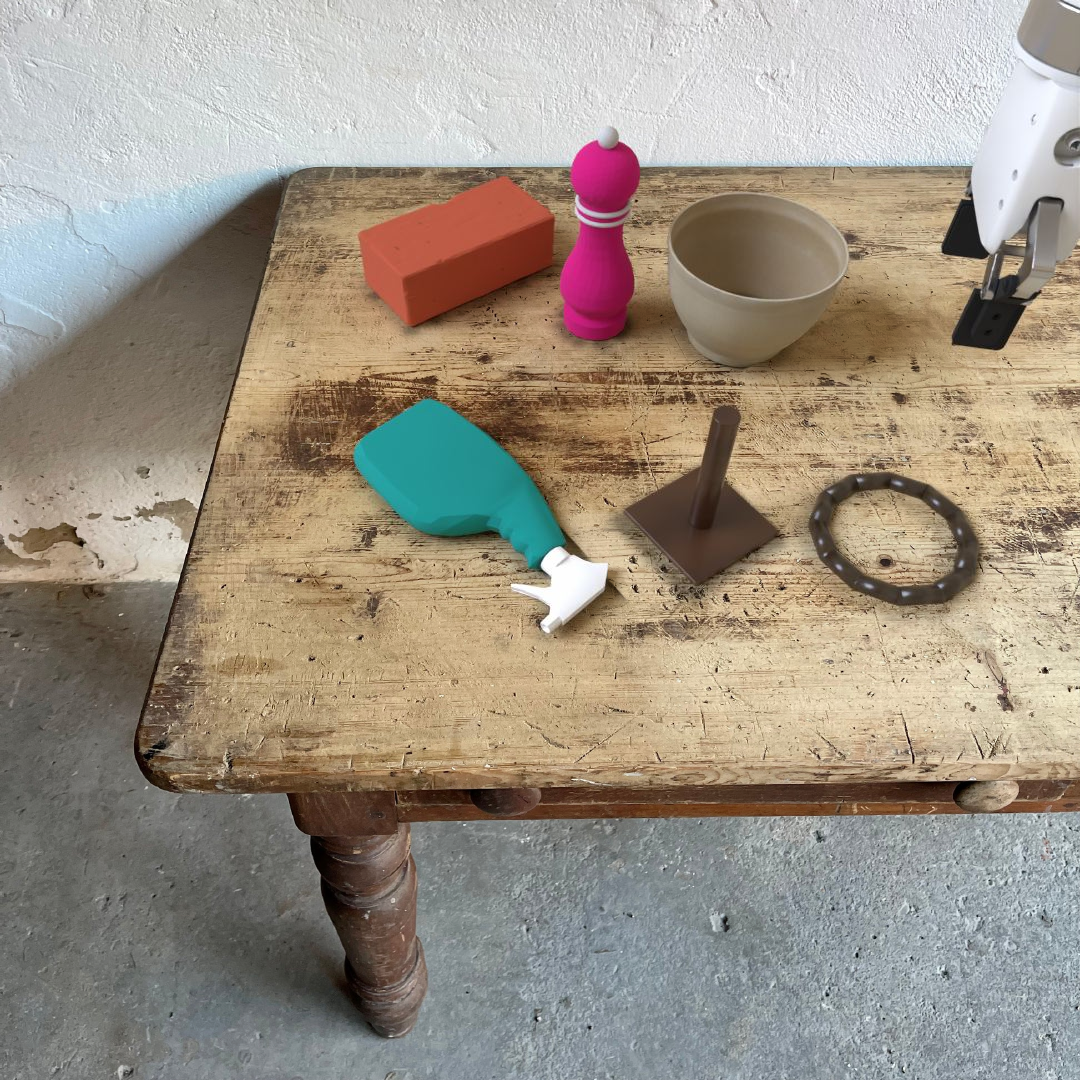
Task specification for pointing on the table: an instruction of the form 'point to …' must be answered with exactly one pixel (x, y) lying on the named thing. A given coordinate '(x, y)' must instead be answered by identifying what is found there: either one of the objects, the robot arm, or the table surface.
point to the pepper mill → (600, 238)
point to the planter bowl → (751, 273)
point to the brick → (457, 249)
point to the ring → (879, 588)
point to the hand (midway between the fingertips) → (969, 297)
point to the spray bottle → (474, 498)
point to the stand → (703, 511)
